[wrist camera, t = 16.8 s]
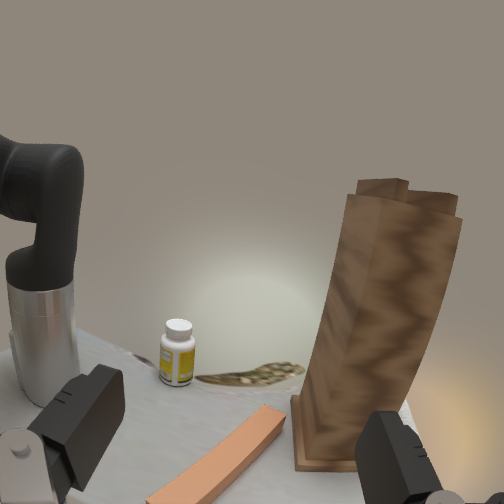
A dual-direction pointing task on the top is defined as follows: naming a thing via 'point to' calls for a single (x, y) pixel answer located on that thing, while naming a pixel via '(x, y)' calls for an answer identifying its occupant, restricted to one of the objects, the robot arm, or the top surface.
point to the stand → (374, 316)
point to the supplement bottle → (177, 353)
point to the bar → (223, 461)
